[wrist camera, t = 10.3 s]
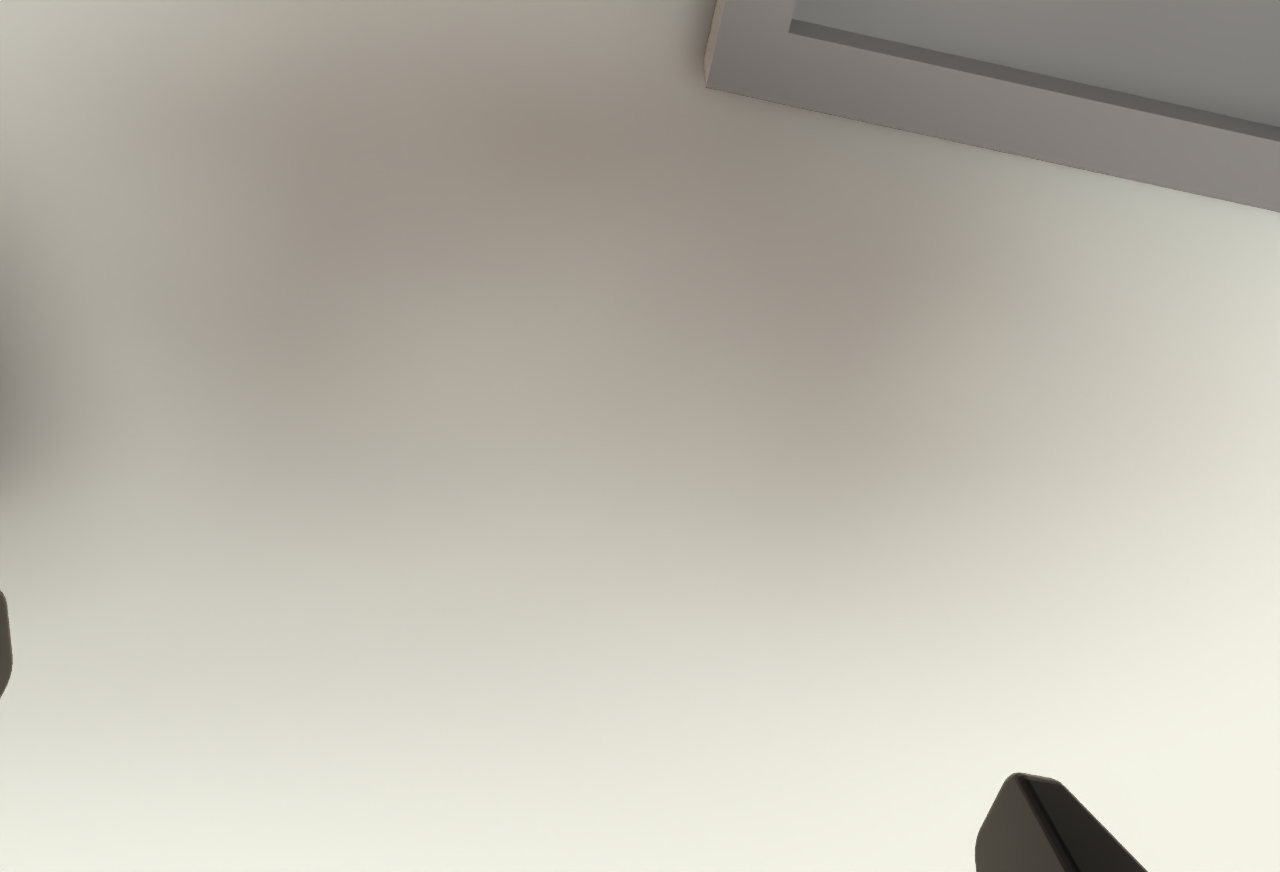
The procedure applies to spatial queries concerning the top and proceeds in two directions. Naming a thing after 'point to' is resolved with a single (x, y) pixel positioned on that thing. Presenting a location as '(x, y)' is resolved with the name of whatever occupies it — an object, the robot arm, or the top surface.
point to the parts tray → (1033, 79)
